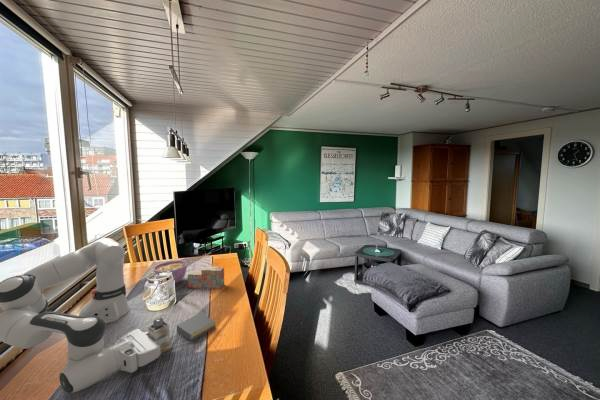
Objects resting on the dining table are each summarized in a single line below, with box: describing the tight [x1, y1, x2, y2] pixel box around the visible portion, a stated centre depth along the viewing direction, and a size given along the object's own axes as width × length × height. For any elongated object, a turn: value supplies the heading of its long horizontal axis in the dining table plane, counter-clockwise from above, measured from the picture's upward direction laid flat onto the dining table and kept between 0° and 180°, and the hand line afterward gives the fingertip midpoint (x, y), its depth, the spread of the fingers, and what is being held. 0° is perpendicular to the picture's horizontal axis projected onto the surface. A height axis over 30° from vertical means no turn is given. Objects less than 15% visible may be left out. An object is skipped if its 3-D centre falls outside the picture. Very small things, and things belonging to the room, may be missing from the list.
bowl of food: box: [153, 260, 188, 284], centre depth 164 cm, size 20×20×12 cm
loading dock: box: [176, 312, 217, 342], centre depth 114 cm, size 12×12×3 cm
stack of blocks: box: [187, 266, 225, 290], centre depth 158 cm, size 21×6×12 cm, turn 86°
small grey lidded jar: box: [147, 319, 172, 355], centre depth 101 cm, size 6×6×10 cm
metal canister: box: [153, 317, 164, 330], centre depth 100 cm, size 3×3×3 cm
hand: (161, 334), depth 101 cm, fingers closed on small grey lidded jar, 6 cm apart
